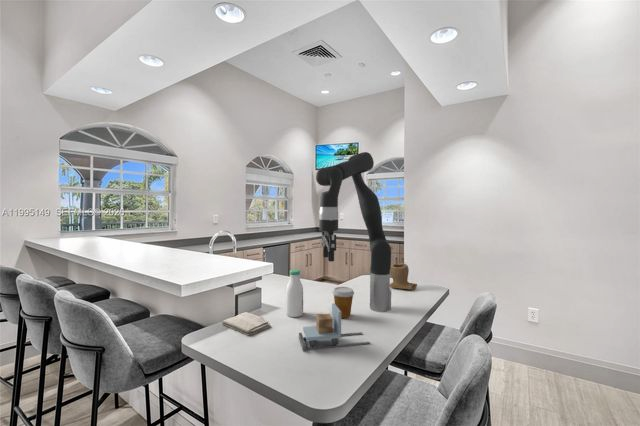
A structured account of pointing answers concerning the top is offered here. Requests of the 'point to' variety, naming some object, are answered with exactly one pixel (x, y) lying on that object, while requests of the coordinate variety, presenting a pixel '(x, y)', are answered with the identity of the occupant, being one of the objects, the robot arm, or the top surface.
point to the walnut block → (324, 323)
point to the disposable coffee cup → (343, 300)
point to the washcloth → (247, 323)
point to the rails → (330, 345)
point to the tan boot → (401, 277)
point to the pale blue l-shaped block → (313, 334)
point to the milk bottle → (294, 295)
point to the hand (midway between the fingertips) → (328, 259)
